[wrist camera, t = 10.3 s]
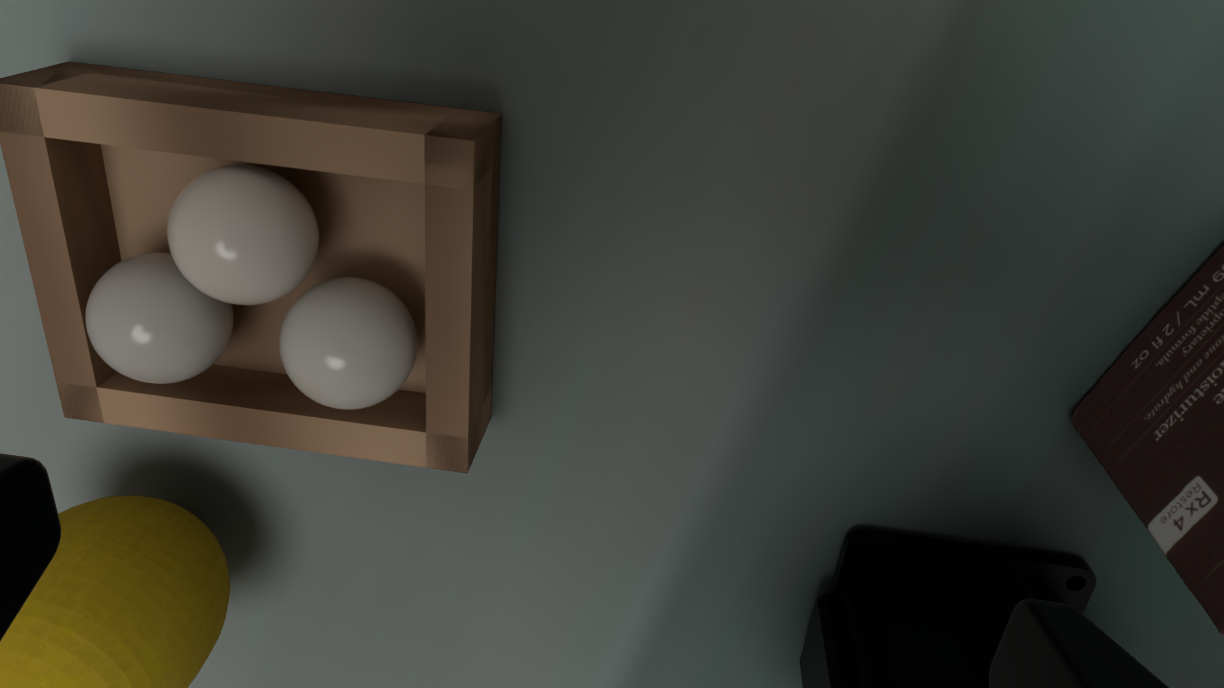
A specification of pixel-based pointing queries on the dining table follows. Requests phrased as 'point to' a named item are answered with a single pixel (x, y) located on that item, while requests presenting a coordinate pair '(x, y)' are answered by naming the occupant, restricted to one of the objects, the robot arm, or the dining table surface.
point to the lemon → (121, 601)
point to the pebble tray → (348, 247)
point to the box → (1171, 432)
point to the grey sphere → (348, 343)
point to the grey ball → (243, 234)
